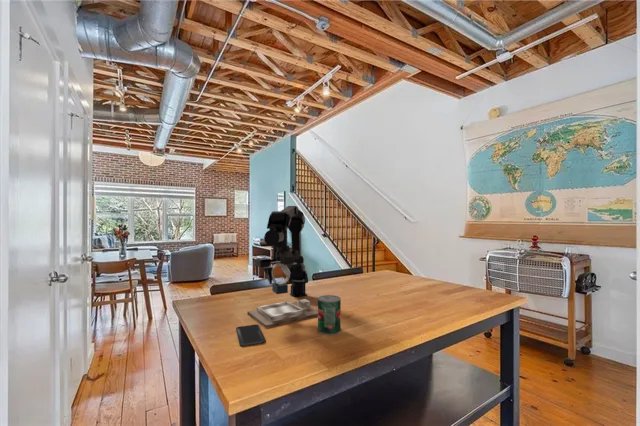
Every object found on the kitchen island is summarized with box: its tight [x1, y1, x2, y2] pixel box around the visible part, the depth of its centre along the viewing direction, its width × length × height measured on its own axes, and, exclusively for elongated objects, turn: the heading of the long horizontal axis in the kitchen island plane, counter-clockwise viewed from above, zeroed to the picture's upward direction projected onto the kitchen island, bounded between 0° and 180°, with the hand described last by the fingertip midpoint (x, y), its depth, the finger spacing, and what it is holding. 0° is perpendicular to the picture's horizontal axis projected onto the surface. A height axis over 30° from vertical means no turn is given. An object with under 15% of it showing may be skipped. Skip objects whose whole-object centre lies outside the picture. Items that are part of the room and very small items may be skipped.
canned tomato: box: [317, 294, 342, 336], centre depth 103 cm, size 8×8×11 cm
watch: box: [271, 263, 291, 295], centre depth 118 cm, size 6×8×11 cm
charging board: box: [247, 298, 318, 329], centre depth 119 cm, size 24×18×4 cm
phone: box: [235, 324, 267, 348], centre depth 99 cm, size 8×1×15 cm
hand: (280, 282), depth 118 cm, fingers closed on watch, 8 cm apart
